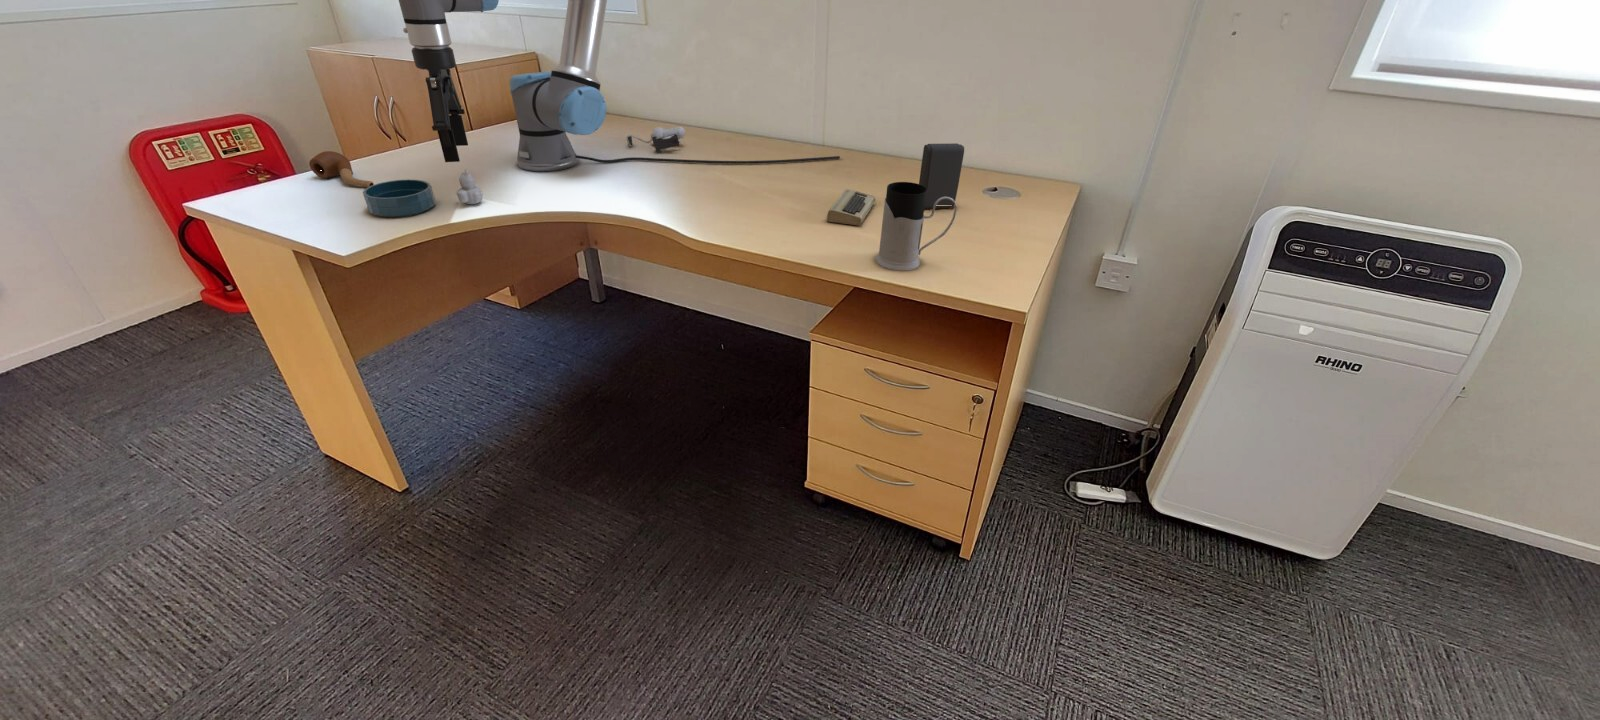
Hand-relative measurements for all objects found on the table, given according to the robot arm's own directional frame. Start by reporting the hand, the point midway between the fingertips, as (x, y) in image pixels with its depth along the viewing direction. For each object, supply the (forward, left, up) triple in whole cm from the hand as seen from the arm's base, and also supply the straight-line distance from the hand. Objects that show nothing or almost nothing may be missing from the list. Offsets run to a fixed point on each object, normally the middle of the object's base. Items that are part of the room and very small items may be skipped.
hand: (457, 153), depth 141 cm
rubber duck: (0, 0, -12) cm, 12 cm away
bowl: (+14, 0, -12) cm, 18 cm away
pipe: (+30, -24, -12) cm, 40 cm away
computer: (-85, +23, -12) cm, 89 cm away
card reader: (-107, +23, -12) cm, 110 cm away
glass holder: (-87, +52, -12) cm, 102 cm away
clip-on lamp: (-46, -42, -12) cm, 64 cm away
